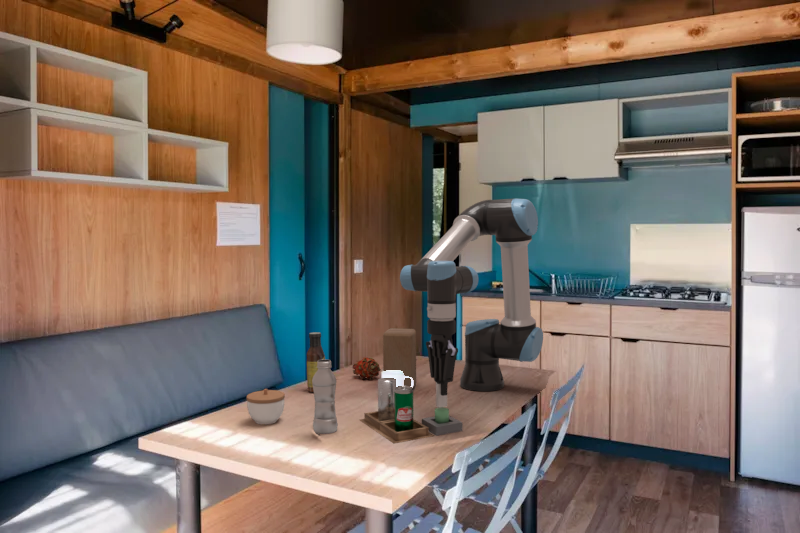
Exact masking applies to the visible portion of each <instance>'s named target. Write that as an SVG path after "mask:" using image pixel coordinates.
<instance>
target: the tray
mask: <svg viewBox="0 0 800 533" xmlns="http://www.w3.org/2000/svg"><path fill="white" fill-rule="evenodd" d="M359 421H360V422H361V423H363V424H364V425H365V426H367V427H369V428H370V429H372V430H373V432H374V431H375V432H376V433H378V435H380V436H382V437H383V438H385V439H386V440H388V441H389V442H391V443H392V444H398V443H405V442H410V441H417V440H422V439H427V438H432V437H435V435H434V434H433V433H431V432H429V428H428V427H427V426H425V425H423V424H422V422H419V421H418V420H416V419H415V418H413V426H414V429H412V430H406V431H401V432H396V431H395V430H394V419H392V420H386V421H379V420H378V410H377V411H370V412H364V417H363V418H361V419H359Z"/></svg>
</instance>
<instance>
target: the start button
mask: <svg viewBox="0 0 800 533" xmlns="http://www.w3.org/2000/svg"><path fill="white" fill-rule="evenodd" d="M434 416H435V422H436V423H438V424H442V423H448V422H449V416H450V410H449V408H448V407H440V408H438V407H436V408H434Z"/></svg>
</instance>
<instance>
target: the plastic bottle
mask: <svg viewBox="0 0 800 533" xmlns="http://www.w3.org/2000/svg"><path fill="white" fill-rule="evenodd" d="M317 368H318V370H317V372H316V373H315V375H314V376H313V379H312V384H313V390H314V392H313V396H314V397H313V398H314V417H313V423H312V428H313V432H314V433H315V435H318V436H321V435H327V434H329V435H330V434H333V433H336V432H337V431H338V425H339V424H338V419H337V414H336V404H335V403H336V400H335V399H336V390H337V389H336V388H337V377H336V375H335V373H334V372H333V371H332V370H331V368H332V361H331V359H326V358H325V359H323V360H318V361H317Z"/></svg>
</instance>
